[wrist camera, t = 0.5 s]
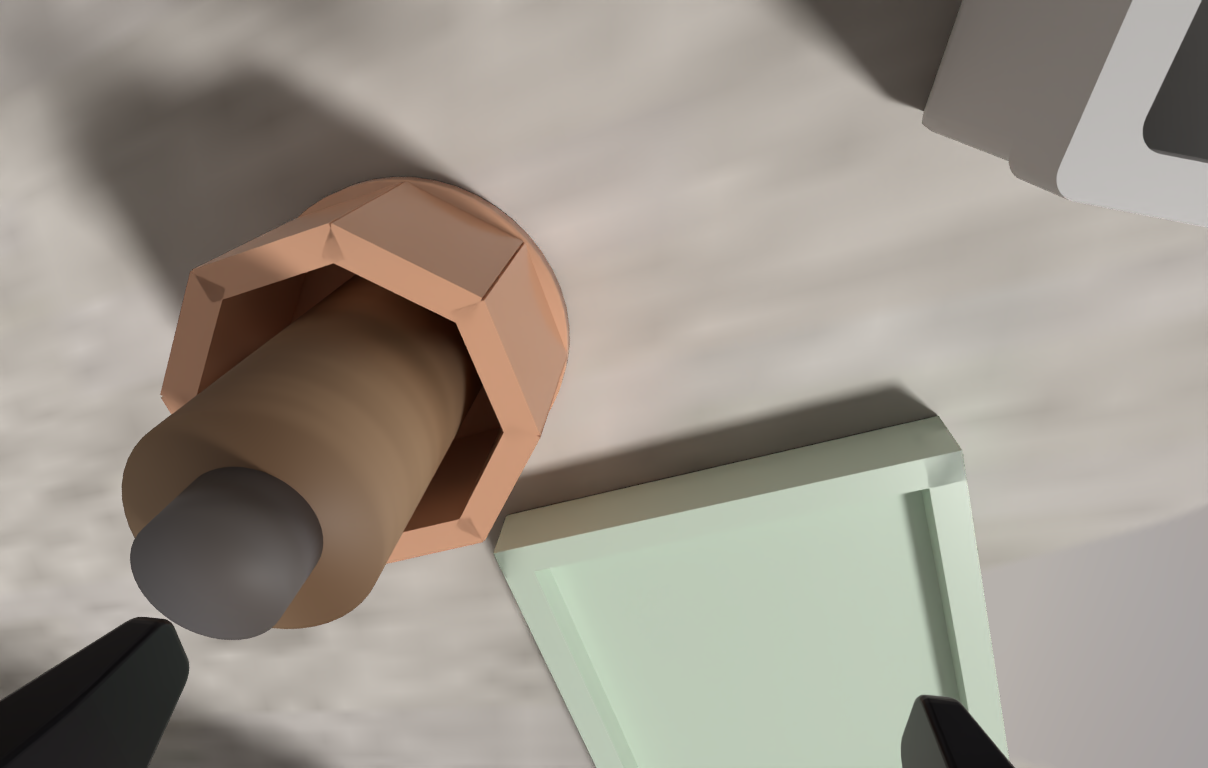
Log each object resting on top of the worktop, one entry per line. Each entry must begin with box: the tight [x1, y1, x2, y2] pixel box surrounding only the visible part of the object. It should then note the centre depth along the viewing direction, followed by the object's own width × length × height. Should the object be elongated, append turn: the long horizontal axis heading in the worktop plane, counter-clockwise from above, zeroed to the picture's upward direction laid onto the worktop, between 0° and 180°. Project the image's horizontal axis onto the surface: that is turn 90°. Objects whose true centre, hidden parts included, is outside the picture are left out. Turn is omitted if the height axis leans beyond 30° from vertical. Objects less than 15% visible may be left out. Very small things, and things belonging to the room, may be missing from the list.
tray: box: [493, 416, 1009, 768], centre depth 25 cm, size 14×16×2 cm
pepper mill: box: [122, 274, 483, 640], centre depth 17 cm, size 5×5×10 cm
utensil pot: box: [160, 177, 570, 564], centre depth 20 cm, size 9×9×6 cm
